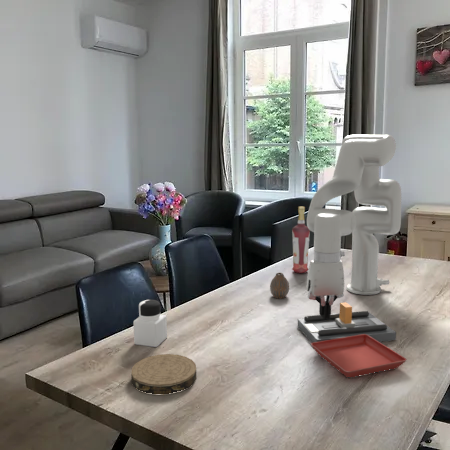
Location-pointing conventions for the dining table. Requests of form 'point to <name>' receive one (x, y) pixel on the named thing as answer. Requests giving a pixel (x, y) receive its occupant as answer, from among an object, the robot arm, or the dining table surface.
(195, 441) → the dining table surface
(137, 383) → the round wood slice
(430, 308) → the dining table surface
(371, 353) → the plant saucer
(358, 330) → the switch panel
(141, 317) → the medicine bottle
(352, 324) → the breaker lever
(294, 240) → the liquor
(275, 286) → the vase
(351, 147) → the robot arm
